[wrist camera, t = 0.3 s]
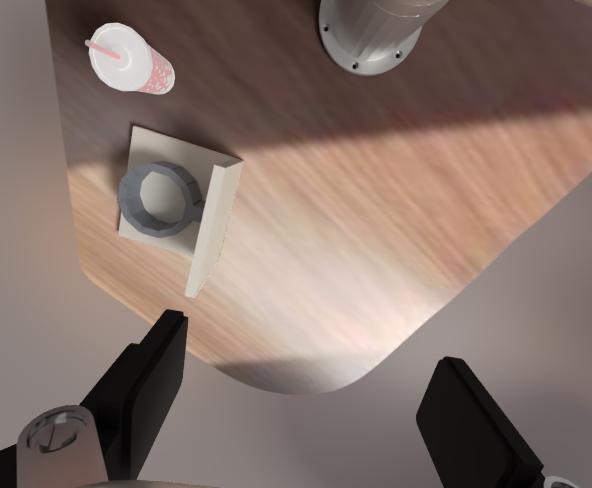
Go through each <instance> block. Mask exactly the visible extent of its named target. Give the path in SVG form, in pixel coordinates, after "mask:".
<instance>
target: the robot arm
mask: <svg viewBox="0 0 592 488" xmlns="http://www.w3.org/2000/svg"><path fill="white" fill-rule="evenodd" d="M448 1H449V0H321V4H320V10H319V31H320V35H321V40H322V42H323V45H324V47H325V50H326V51H327V53H328V55H329V56H330V58H331V59H332V60H333V61H334V62H335V63H336V64H337V65H338V66H339V67H340V68H342V69H343V70H345V71H347V72H349V73H351V74H354V75H359V76H374V75H379V74H382V73H384V72H386V71H389V70H391V69H392V68H393V67H395V66H396V65H398V64H399V63H400V62H401V61H403V60H404V59H405V57H406V56H407V55H408V54H409V53H410V51H411V50H412V48H413V47H414V45H415V43H416V42H417V40H418V37H419V35H420V32H421V29H422V25H423V24H424V23H425V22H426V21H427V20H428V19H429V18H431V17H432V16H433V15H434V14H435V13H436V12H437V11H438V10H439V9H440V8H442V7H443V6H444V5H445V4H446V3H447V2H448ZM574 1H576V2H579V3H581V4H584V5H586V6H589V7H591V8H592V0H574ZM324 28H328V31H327V32H325V31H324ZM396 54H398V55H399V58H396ZM353 65H355V66H356V68H355V69H353V68H352V66H353ZM187 328H188V317H185V316H184V314H183V312H181V311H175V310H169V309H166V310H165V311H164V313H163V314H162V315H161V317H160V318H159V319H158V320H157V322H156V323H155V324H154V326H153V327H152V328H151V330H150V331H149V332H148V334H147V335H146V336H145V337H144V339H143V340H142V341H141V342H140V344H134V343H131V344H129V345H128V346H127V347H126V349H125V350H124V351H123V352H122V353H121V355H120V356H119V357H118V358H117V359H116V361H115V362H114V363H113V364H112V366H111V367H110V368H109V369H108V371H107V372H106V373H105V374H104V375H103V377H102V378H101V379H100V380H99V381H98V383H97V384H96V385H95V386H94V388H93V389H92V390H91V391H90V392H89V394H88V395H87V396H86V397H85V398H84V400H83V401H82V402H81V403H80V405H79V406H78V405H66V406H61V407H58V408H54V409H51V410H49V411H47V412H44V413H43V414H41V415H39V416H38V417H36V418H35V419H33V420H32V421H31V422H30V423H29V424H28V425H27V426H26V427H25V428H24V429H23V431H22V432H21V434H20V435H19V437H18V442H17V444H15V445H12V446H10V447H8V448H5V449H3V450H0V488H217V487H208V486H200V485H190V484H182V483H173V482H161V481H145V480H136V479H137V477H138V475H139V473H140V471H141V469H142V467H143V464H144V462H145V460H146V458H147V456H148V454H149V452H150V450H151V447H152V445H153V443H154V441H155V439H156V437H157V435H158V433H159V431H160V428H161V426H162V424H163V422H164V420H165V418H166V416H167V414H168V411H169V409H170V407H171V405H172V403H173V401H174V399H175V397H176V395H177V393H178V390H179V388H180V386H181V383H182V379H183V369H184V358H185V349H186V338H187ZM416 421H417V425H418V427H419V430H420V432H421V435H422V437H423V439H424V442H425V444H426V446H427V449H428V451H429V454H430V456H431V458H432V461H433V463H434V465H435V468H436V470H437V473H438V475H439V477H440V480H441V482H442V484H443V487H444V488H580V487H578V486H577V485H575V484H574V483H572V482H570V481H568V480H566V479H563V478H561V477H558V476H549V477H547V478H545V477H544V476H543V474H542V473H541V470H542V469H543V467H544V465H543V464H542V463H541V461H540V460H539V459H538V457H537V456H536V455H535V454H534V452H533V451H532V449H531V448H530V447H529V445H528V444H527V443H526V442H525V440H524V439H523V438H522V436H521V435H520V434H519V432H518V431H517V430H516V428H515V427H514V426H513V424H512V423H511V422H510V420H509V419H508V418H507V417H506V415H505V414H504V413H503V411H502V410H501V409H500V407H499V406H498V405H497V403H496V402H495V401H494V399H493V398H492V397H491V395H490V394H489V393H488V391H487V390H486V389H485V387H484V386H483V385H482V383H481V382H480V381H479V380H478V378H477V377H476V376H475V374H474V373H473V372H472V370H471V369H470V368H469V366H468V365H467V364H466V362H465V361H464V360H462V359H460V358H454V357H444V358H443V360H440V361H439V362H438V364H437V366H436V368H435V371H434V373H433V375H432V378H431V380H430V383H429V385H428V388H427V390H426V392H425V395H424V397H423V400H422V402H421V405H420V407H419V409H418V411H417V414H416Z"/></svg>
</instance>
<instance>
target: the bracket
mask: <svg viewBox="0 0 592 488" xmlns="http://www.w3.org/2000/svg"><path fill="white" fill-rule="evenodd" d="M243 164H244V160H241V159H237V158H234V157H231V156H228V155H225V154H222V153H219V152H216V151H213V150H210V149H207V148H204V147H200V146H197V145H194V144H191V143H188V142H185V141H182V140H179V139H176V138H173V137H170V136H166V135H163V134H160V133H157V132H154V131H151V130H148V129H145V128H142V127H139V126H133V132H132V139H131V146H130V153H129V161H128V168H127V173H126V175H125V176H124V177H123V178H122V179H121V180H120V181H121V182H119V189H118V196H117V200H119V201H117V202H118V204H119V206H120V209H121V219H120V226H119V233H118V236H121V237H125V238H128V239H132V240H135V241H139V242H142V243H146V244H149V245H153V246H156V247H159V248H163V249H166V250H170V251H173V252H177V253H180V254H184V255H187V256H191V257H193V261H192V265H191V270H190V274H189V279H188V283H187V287H186V292H185V296H187V297H191V298H195V297H196V295H197V294H198V292H199V291H200V289H201V288H202V286H203V285H204V283H205V281H206V280H207V278H208V277H209V275H210V274H211V272H212V271H213V269H214V267H215V266H216V264H217V263H218V261H219V258H220V254H221V250H222V246H223V242H224V238H225V234H226V230H227V226H228V222H229V218H230V215H231V211H232V207H233V203H234V199H235V195H236V191H237V187H238V183H239V179H240V175H241V171H242V168H243Z"/></svg>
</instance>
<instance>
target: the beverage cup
mask: <svg viewBox="0 0 592 488" xmlns="http://www.w3.org/2000/svg"><path fill="white" fill-rule="evenodd" d="M85 44H86V45H87V46H89V47H90V48H89V55H90V59H91V63H92V67H93V68H94V70H95V72H96V73H97V75H98V77H99V78H100V79H101V80H103V81H104V82H105V83H106V84H107V85H108V86H110V87H113V88H115V89H118V90H121V91H140V92H146V93H152V94H165V93H166V92H168V91H170V89H171V88H172V87H173V85H174V80H175V75H174V70H173V68H172V66H171V64H170V63H169V62H168V61H167V60H166V59H165V58H164V57H163V56H161V55H160V54H159V53H158V52H156V51H155V50H154V49H153V48H152V47H150V46H149V45H148V44H147V43H146V42H145V40H144V39H143V38H142V37H141V36H140V35H139V34H138V33H136V32H135V31H134V30H133V29H132V28H130V27H128V26H125V25H123V24H120V23H106V24H105V25H103V26H102V27H100V28H98V29H97V30H96V31H95V33H94V35H93V37H92V38H91V40H90V41H89V40H86V41H85Z"/></svg>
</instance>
